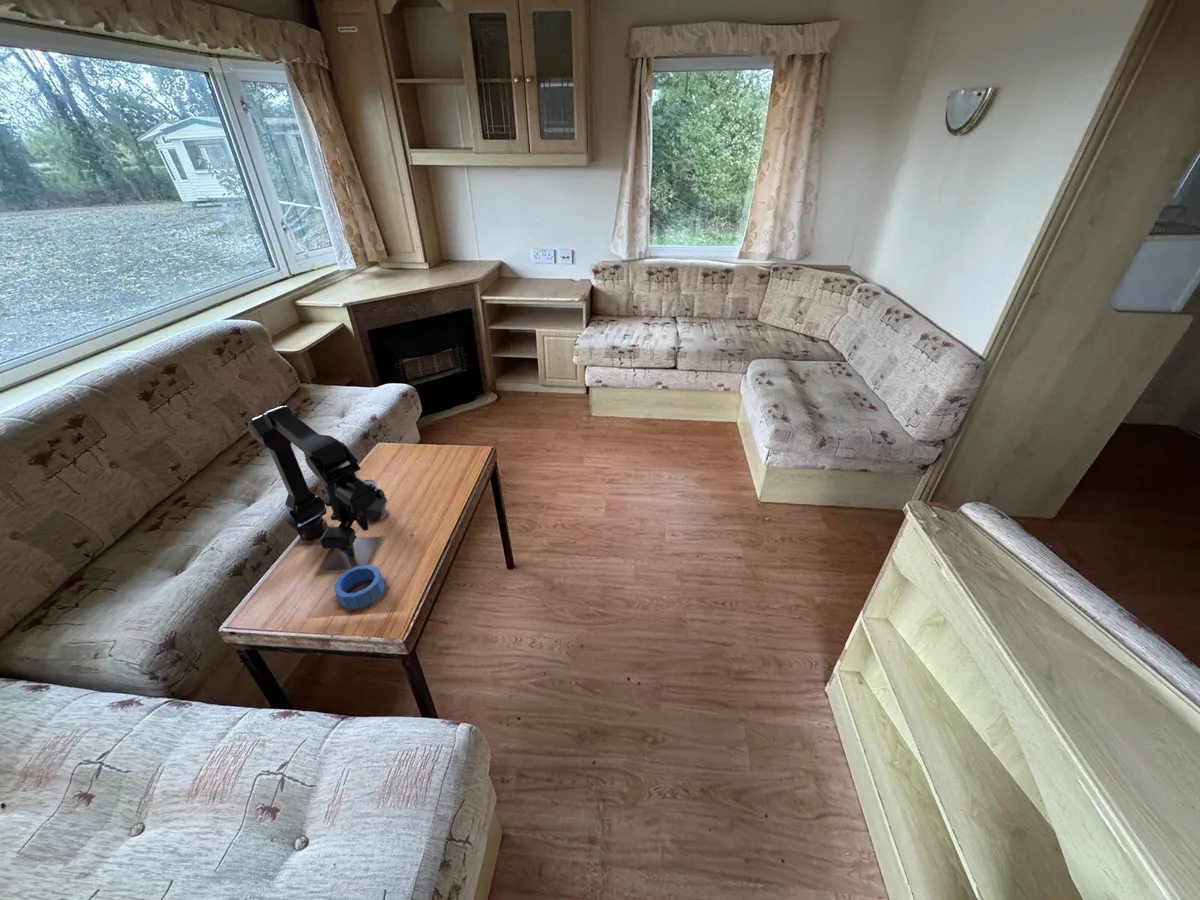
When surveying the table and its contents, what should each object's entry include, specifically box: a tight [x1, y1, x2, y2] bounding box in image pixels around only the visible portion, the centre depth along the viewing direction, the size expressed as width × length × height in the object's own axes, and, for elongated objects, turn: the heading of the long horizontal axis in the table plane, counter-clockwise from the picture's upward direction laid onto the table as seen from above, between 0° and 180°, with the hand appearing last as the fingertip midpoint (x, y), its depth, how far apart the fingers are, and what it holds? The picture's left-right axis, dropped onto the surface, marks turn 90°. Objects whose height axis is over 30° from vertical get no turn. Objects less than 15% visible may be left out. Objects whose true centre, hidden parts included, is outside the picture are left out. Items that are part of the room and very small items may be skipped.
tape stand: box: [317, 536, 380, 573], centre depth 128 cm, size 12×12×5 cm
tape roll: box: [333, 564, 386, 610], centre depth 117 cm, size 10×10×5 cm
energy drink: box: [362, 479, 387, 522], centre depth 140 cm, size 5×5×12 cm
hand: (359, 542), depth 117 cm, fingers open, 9 cm apart
